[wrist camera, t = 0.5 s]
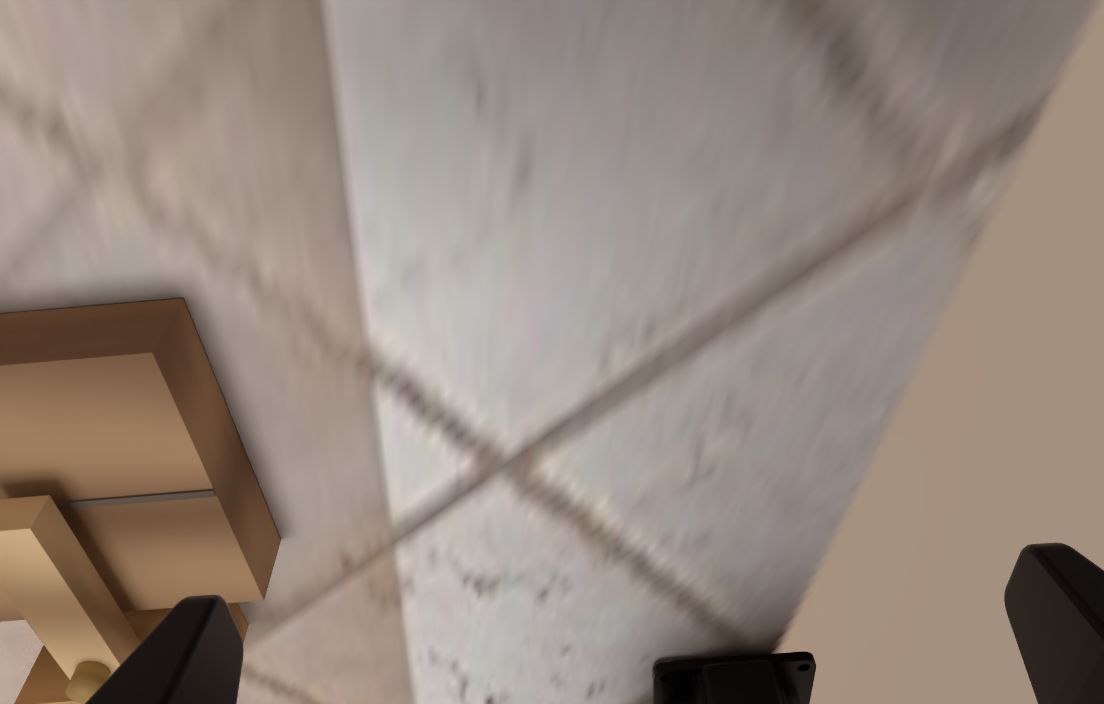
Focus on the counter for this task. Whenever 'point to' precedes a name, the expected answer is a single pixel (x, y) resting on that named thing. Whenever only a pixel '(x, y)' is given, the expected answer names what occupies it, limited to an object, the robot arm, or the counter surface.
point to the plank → (133, 452)
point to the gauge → (67, 605)
